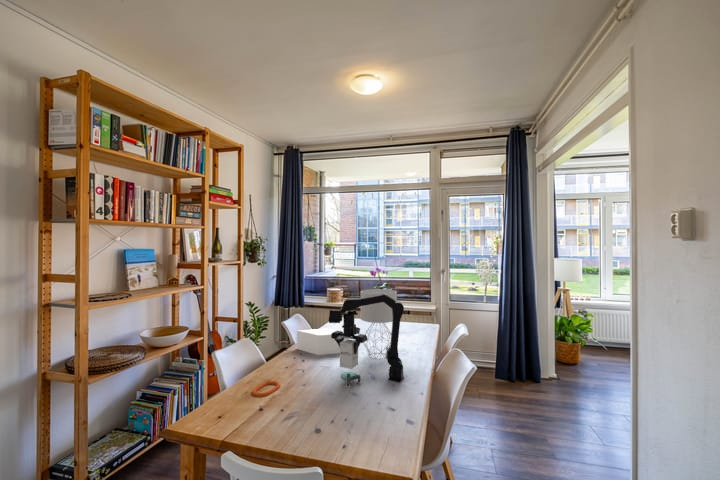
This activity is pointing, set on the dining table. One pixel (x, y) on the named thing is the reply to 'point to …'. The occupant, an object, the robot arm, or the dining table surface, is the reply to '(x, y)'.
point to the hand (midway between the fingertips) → (349, 353)
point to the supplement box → (348, 354)
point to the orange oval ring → (268, 391)
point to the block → (317, 341)
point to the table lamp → (377, 313)
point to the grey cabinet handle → (352, 380)
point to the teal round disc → (344, 375)
